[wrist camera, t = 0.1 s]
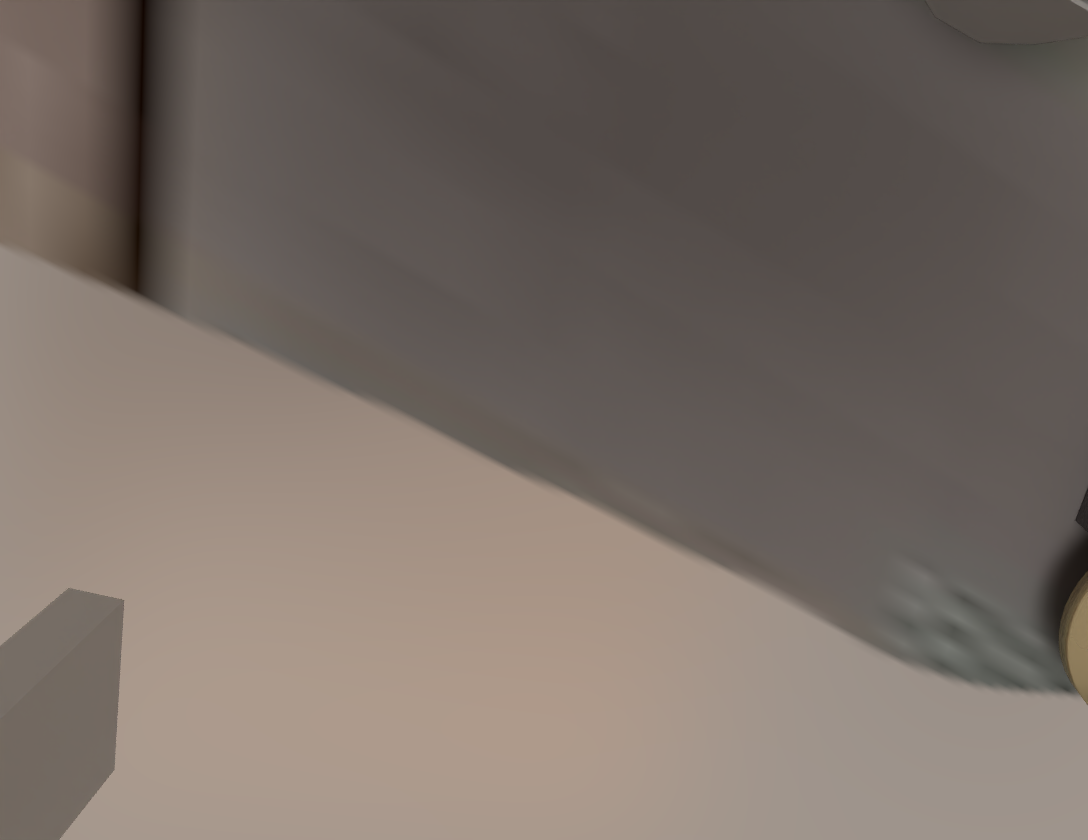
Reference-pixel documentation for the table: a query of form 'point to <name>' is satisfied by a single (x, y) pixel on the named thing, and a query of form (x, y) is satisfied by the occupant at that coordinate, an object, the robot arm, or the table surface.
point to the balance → (1076, 626)
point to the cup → (1015, 19)
